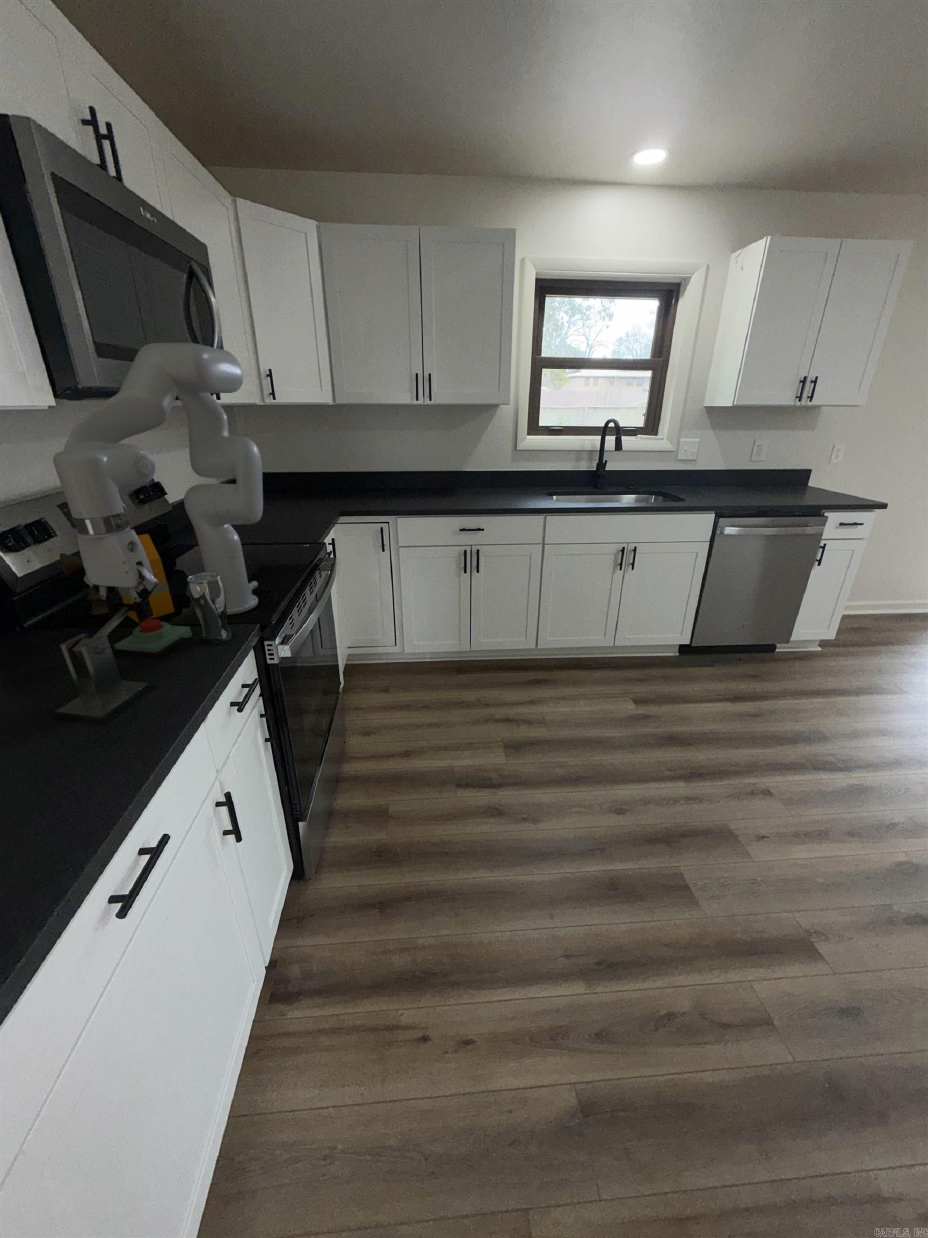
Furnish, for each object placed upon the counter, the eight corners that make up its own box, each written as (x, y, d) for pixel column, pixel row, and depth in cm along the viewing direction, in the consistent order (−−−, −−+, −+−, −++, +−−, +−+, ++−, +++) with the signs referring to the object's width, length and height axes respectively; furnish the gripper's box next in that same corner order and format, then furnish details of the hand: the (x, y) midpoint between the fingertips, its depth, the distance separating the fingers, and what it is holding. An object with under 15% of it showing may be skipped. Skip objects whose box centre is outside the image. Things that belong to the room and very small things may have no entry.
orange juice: (175, 611, 127) (155, 535, 119) (137, 623, 121) (113, 543, 113) (162, 604, 132) (142, 530, 124) (125, 614, 126) (101, 537, 118)
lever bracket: (109, 684, 96) (88, 624, 90) (150, 688, 94) (131, 628, 89) (57, 717, 86) (30, 652, 80) (102, 723, 84) (78, 657, 79)
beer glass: (221, 646, 110) (207, 583, 104) (194, 644, 111) (178, 581, 105) (240, 633, 116) (228, 572, 110) (214, 630, 117) (200, 570, 111)
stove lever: (122, 608, 95) (116, 599, 93) (145, 610, 94) (139, 600, 93) (72, 658, 86) (64, 649, 84) (97, 661, 85) (89, 651, 83)
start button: (150, 625, 112) (148, 618, 111) (166, 626, 111) (164, 619, 110) (136, 633, 108) (134, 625, 107) (153, 634, 107) (151, 627, 107)
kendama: (80, 613, 127) (53, 537, 118) (125, 605, 132) (102, 531, 123) (80, 621, 122) (52, 542, 114) (126, 612, 127) (102, 536, 119)
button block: (154, 632, 117) (149, 616, 115) (192, 635, 115) (188, 619, 113) (116, 654, 107) (111, 637, 105) (157, 657, 105) (152, 641, 104)
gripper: (160, 520, 88) (186, 612, 96) (78, 516, 91) (109, 606, 99) (128, 532, 82) (158, 629, 90) (40, 527, 85) (77, 622, 92)
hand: (132, 616), depth 94 cm, fingers closed on stove lever, 5 cm apart
